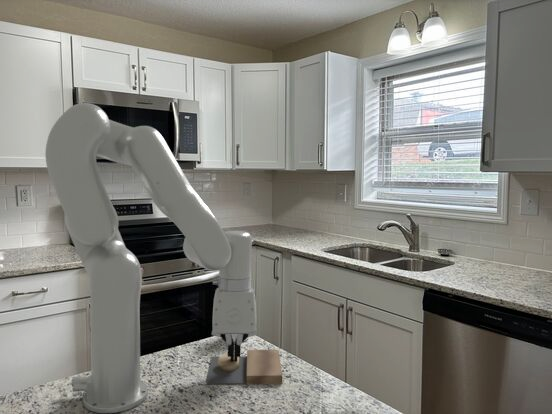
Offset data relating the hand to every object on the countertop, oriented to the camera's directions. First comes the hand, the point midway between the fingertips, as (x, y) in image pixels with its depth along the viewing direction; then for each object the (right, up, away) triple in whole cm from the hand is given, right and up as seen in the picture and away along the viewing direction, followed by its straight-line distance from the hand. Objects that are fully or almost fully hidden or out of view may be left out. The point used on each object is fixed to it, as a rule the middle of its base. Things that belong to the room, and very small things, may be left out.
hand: (234, 359), depth 103 cm
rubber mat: (-1, -3, 0) cm, 3 cm away
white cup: (-1, -1, +20) cm, 20 cm away
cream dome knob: (-1, -2, +1) cm, 3 cm away
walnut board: (+7, -3, +1) cm, 8 cm away
